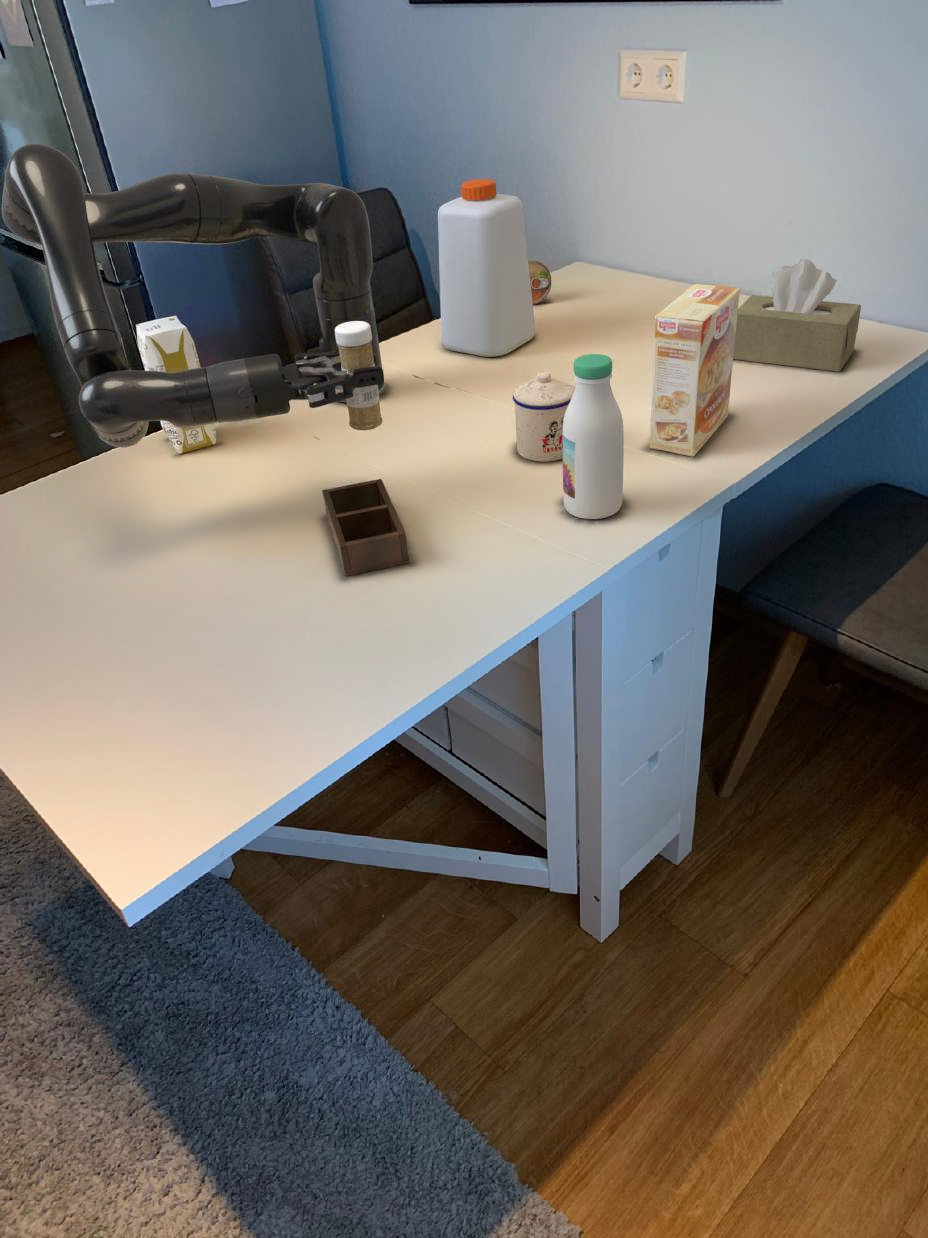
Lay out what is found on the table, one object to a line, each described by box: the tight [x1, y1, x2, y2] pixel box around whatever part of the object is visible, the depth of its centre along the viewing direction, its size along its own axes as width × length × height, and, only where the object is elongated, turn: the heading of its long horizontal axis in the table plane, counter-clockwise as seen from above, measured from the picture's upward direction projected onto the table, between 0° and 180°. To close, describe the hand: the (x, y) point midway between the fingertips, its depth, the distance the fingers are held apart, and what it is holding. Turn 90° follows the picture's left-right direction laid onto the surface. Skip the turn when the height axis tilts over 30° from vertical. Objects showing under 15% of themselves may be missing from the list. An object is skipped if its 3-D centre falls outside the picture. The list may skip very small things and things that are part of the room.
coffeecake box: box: [649, 283, 741, 457], centre depth 133 cm, size 15×7×20 cm, turn 148°
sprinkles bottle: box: [335, 321, 383, 431], centre depth 121 cm, size 5×5×14 cm
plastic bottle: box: [437, 178, 536, 358], centre depth 168 cm, size 15×15×28 cm
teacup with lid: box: [512, 371, 575, 463], centre depth 135 cm, size 12×9×12 cm
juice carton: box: [135, 315, 217, 454], centre depth 144 cm, size 8×9×19 cm
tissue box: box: [733, 258, 862, 373], centre depth 154 cm, size 19×10×16 cm, turn 59°
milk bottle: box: [562, 353, 625, 520], centre depth 117 cm, size 8×8×20 cm
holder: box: [321, 478, 411, 577], centre depth 120 cm, size 8×15×4 cm, turn 15°
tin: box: [528, 260, 552, 305], centre depth 191 cm, size 15×3×8 cm, turn 81°
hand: (379, 367), depth 121 cm, fingers closed on sprinkles bottle, 4 cm apart
